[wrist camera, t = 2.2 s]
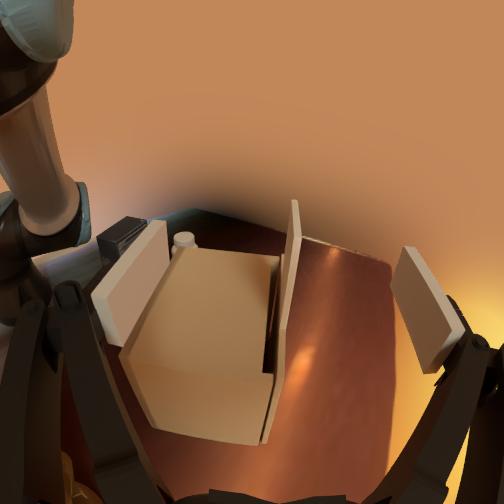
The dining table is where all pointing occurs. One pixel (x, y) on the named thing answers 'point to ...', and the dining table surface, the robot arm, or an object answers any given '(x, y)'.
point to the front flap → (282, 314)
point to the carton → (205, 346)
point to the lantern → (76, 486)
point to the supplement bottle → (183, 241)
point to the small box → (119, 238)
